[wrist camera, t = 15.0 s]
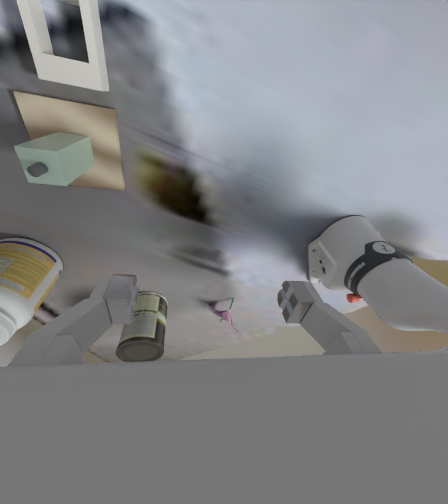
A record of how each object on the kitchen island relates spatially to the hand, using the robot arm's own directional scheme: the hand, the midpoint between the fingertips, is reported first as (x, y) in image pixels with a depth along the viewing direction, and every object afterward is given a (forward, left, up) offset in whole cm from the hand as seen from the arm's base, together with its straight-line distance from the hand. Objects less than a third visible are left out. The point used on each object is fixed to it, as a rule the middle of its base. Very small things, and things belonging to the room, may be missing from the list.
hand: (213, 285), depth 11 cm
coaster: (+4, +18, -31) cm, 36 cm away
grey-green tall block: (+3, +18, -30) cm, 35 cm away
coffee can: (-36, +20, -31) cm, 52 cm away
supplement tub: (-15, +38, -31) cm, 52 cm away
